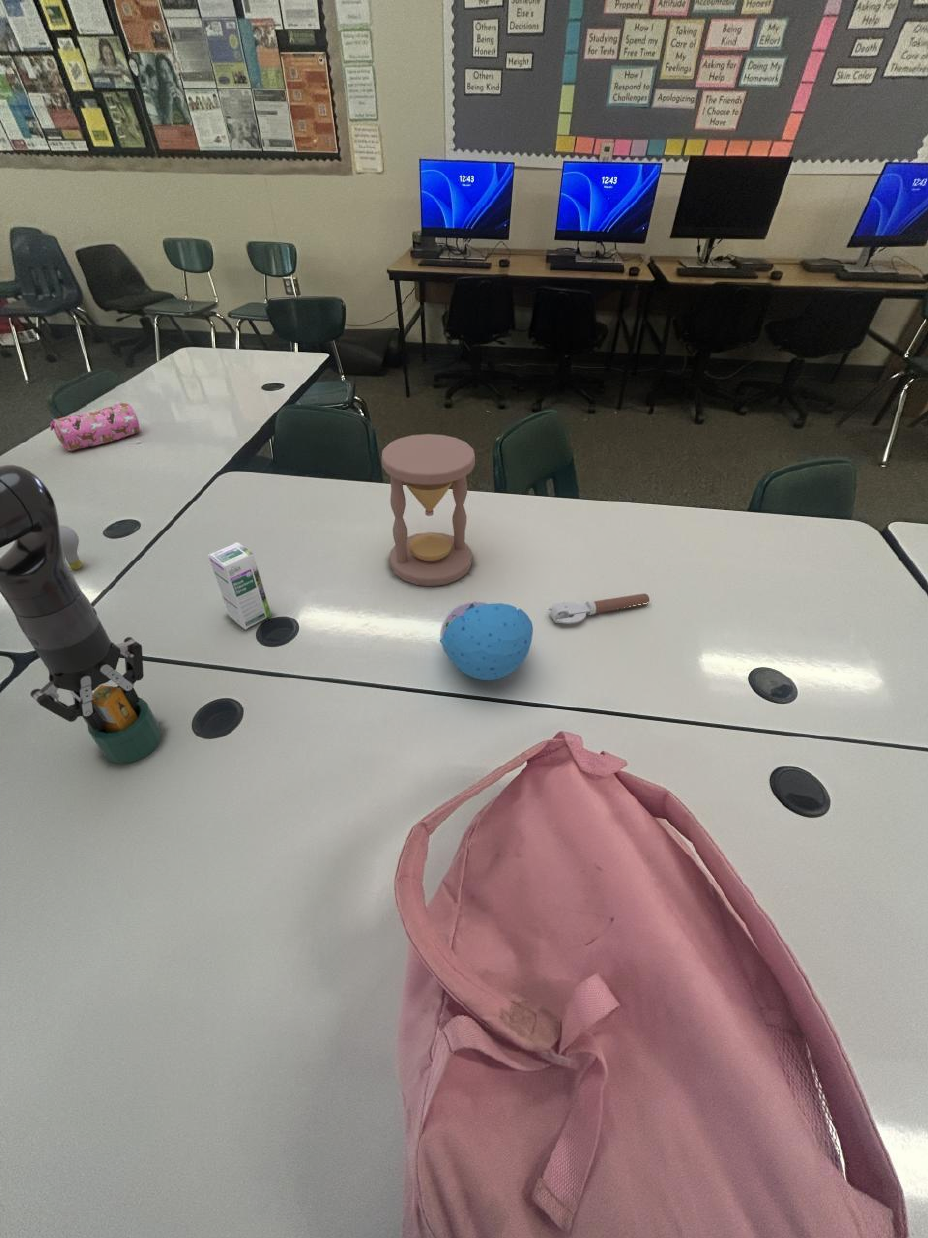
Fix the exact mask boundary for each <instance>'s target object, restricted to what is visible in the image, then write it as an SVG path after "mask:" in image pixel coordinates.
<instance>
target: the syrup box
mask: <svg viewBox="0 0 928 1238" xmlns="http://www.w3.org/2000/svg"><path fill="white" fill-rule="evenodd" d="M207 557H208V559H209V563H210V566H211V569H212V571H213V573H214V577H215V579H216V583H217V585H218V587H219V588H218V589H219V591H220V593H221V597H222V600H223V602H224V604H225V608H226V611H227V613H228V617H230V618H231V620H233V621H234V622H235V623H236V624H237V625H238V626H240V627H241V628H242V629H243V630H248V629H249V628H250V627H253V626H254V625H257V624H259V623H260V622H262V621H264V620H266V619H267V618H270V617H272V613H271V610H270V606H269V603H268V599H267V596H266V593H265V588H264V585H263V582H262V579H261V575H260V571H259V568H258V564H257V561H256V557H255V554H254V553H253V552H252V551H251V550H250V549H248V548H247V547H246V546H245V545H242V544H241V543H239V542H238V541H236V542H234V543H233V544H230V545H228V546H226V547H223V548H221V549H219V550H216V551H213V552H211V553H209V554H208V555H207Z"/></svg>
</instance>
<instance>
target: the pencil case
mask: <svg viewBox="0 0 928 1238" xmlns="http://www.w3.org/2000/svg"><path fill="white" fill-rule="evenodd" d="M49 427H50V431H54V433H55V436H56V438H57V440H58V441H59V443H60V444H61V445H62V446H63V448H64V449H65V450H66V451H69V452H73V451H76V450H80V449H84V448H89V447H95V446H98V445H99V446H100V445H103V444H106V443H111V442H114V441H119V440H122V439H124V438H125V437H129V436H133V435H136V434H139V433H140V431H141V429H140V422H139V419H138V416H137V414H136V412H135V410H134V409H133V407H132V405H131V404H129V403H127V402H119V403H118V404H116V403H115V404H114V405H113V406H110V407H105V408H102V409H99V410H95V411H90V412H85V413H81V414H80V413H79V414H75V415H69V416H62V417H60V418H54V419H52V421H51V422H50V426H49Z"/></svg>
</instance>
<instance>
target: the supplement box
mask: <svg viewBox="0 0 928 1238" xmlns="http://www.w3.org/2000/svg"><path fill="white" fill-rule="evenodd" d="M92 696H93V701H92V707H93V709H94V710H95V711H96V712H97V714H98V715H99V717H100V719H101V720H102V722H103V723H104V725H105V727H106V728H104V729H105V730H106V731H107V733H116V732H119V731H121V730H124V729H126V728H128V727H129V726H131V725H132V724H134V722H135V721H136V720H137V719H138V716H137V715H136V713H135V711H134V710H133V708H132V706H131V705H130V703H129V701H128V699H127V698H126V696H125V694H124V693H123V691H122V689H121V688H120V687H117V686H112V685H104V684H101V685H99V686H98V687H97V688H96V689H95V691H94V692H92Z"/></svg>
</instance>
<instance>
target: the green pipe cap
mask: <svg viewBox="0 0 928 1238" xmlns="http://www.w3.org/2000/svg"><path fill="white" fill-rule="evenodd" d="M137 705H138V707H137V708H135V709H134V711H135V713H136V715H137V716H138V719H137V720H136V721H135V722H134V724H132V725H131V726H129V727H128V728H126V729H124V730H121V731H119V732H116V733H107V731H106V730H105V729H103V730H100V729H96V730H94V729H92V728H91V727H90V726H89V725H88V724H87V723H86V724H87V732H88V733H89V735H90V737H91V738H92V739H93V741H94V743H95V744H96V745H97V747H98V748H99V750H100V751H101V753H102V754H103V756H104V757H105V758H106V759H107V760H108V761H109V762H111V763H114V764H116V765H126V764H131V763H136V762H138V761H140V760H142V759H145V758H146V757H147V756H149V755H150V754H151V753H153V752H154V750H155V749H156V748H157V747H158V746H159V744H160V743H161V739H162V731H161V727H160V724H159V723H158V721H157V719H156V718H155V715H154V714H153V712H152V710H151V708H150V706H149V705H148V702H147V701H146V700H145V699H143V698H142V697H139V702H138V703H137Z"/></svg>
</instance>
